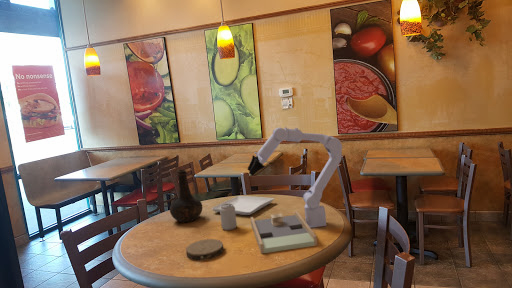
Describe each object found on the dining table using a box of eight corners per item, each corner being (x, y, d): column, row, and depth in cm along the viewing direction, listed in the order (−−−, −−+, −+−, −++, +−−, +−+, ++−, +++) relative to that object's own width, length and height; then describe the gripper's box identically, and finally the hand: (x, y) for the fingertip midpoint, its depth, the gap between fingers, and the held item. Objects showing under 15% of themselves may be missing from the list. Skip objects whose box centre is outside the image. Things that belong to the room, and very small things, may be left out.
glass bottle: (185, 213, 225) (178, 166, 221) (210, 215, 217) (204, 166, 213) (164, 224, 210) (157, 173, 206) (190, 226, 201) (184, 174, 197)
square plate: (275, 203, 228) (275, 197, 227) (250, 218, 205) (249, 211, 204) (238, 200, 242) (237, 194, 242) (210, 214, 220) (210, 207, 219)
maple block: (281, 221, 189) (280, 213, 188) (283, 224, 184) (282, 216, 183) (271, 222, 188) (270, 214, 188) (273, 226, 183) (272, 218, 183)
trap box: (297, 218, 197) (296, 210, 196) (317, 245, 161) (316, 236, 161) (251, 224, 194) (250, 217, 193) (261, 253, 159) (260, 244, 158)
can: (234, 230, 188) (232, 207, 187) (220, 230, 190) (217, 207, 188) (238, 225, 196) (236, 202, 194) (224, 225, 197) (221, 202, 196)
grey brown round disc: (188, 248, 173) (187, 241, 173) (223, 243, 174) (223, 237, 174) (184, 263, 158) (183, 256, 157) (223, 258, 159) (222, 251, 158)
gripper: (259, 141, 186) (241, 163, 186) (263, 147, 171) (244, 171, 172) (270, 150, 187) (253, 172, 188) (275, 156, 173) (256, 180, 174)
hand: (249, 172), depth 180 cm, fingers open, 7 cm apart
